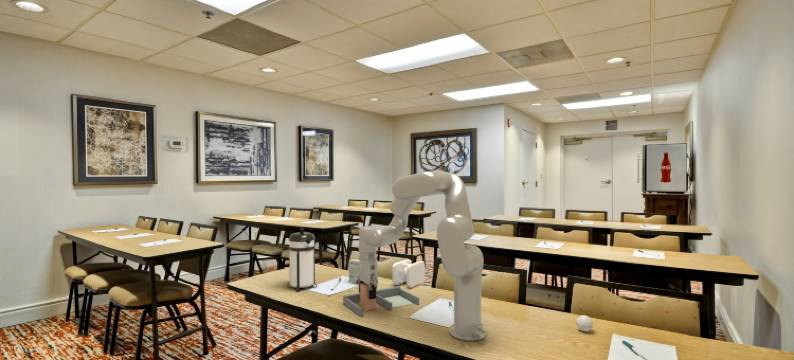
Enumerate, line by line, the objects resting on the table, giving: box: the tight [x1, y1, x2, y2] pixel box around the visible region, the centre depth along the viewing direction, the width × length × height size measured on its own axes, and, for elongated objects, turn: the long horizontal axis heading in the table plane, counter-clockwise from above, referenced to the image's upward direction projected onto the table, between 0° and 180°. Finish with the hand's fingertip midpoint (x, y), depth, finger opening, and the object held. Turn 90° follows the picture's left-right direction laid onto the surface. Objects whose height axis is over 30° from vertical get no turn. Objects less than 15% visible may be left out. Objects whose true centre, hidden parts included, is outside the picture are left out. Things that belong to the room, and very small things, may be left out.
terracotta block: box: [359, 283, 377, 311], centre depth 165 cm, size 5×5×10 cm
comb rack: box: [342, 285, 420, 318], centre depth 169 cm, size 18×28×4 cm, turn 120°
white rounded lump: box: [575, 314, 594, 332], centre depth 139 cm, size 8×6×6 cm
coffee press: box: [287, 227, 318, 293], centre depth 194 cm, size 17×16×30 cm
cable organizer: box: [391, 258, 426, 289], centre depth 198 cm, size 15×11×12 cm
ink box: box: [348, 258, 365, 285], centre depth 202 cm, size 9×5×12 cm, turn 58°
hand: (367, 295), depth 165 cm, fingers open, 9 cm apart
